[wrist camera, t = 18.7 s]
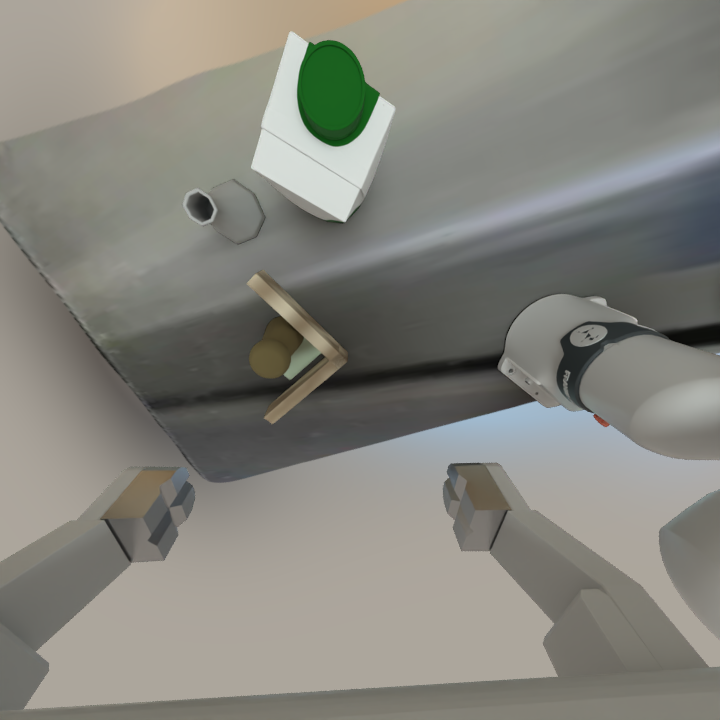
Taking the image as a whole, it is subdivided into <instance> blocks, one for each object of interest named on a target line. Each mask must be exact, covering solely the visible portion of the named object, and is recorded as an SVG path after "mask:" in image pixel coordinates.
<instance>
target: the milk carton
mask: <svg viewBox="0 0 720 720" xmlns="http://www.w3.org/2000/svg"><path fill="white" fill-rule="evenodd" d="M379 95H380V93H379V92H378V91H376V90H375V89H374V88H372V87H371V86H369V85H368V84H367V83H366V82H365V79H364V74H363V70H362V67H361V65H360V63H359V61H358V59H357V57H356V56H355V54H354V53H353V52H352V51H351V50H350V49H349V48H348V47H347V46H345V45H344V44H342V43H340V42H337V41H332V40H327V41H322V42H319V43H317V44H316V45H314V44H313V43H311V42H309V44H308V43H307V42H306V41H304V40H303V39H302V38H301V37H299V36H298V35H296V34H295V33H294V32H292V31H291V32H290V33H289V35H288V39H287V42H286V45H285V49H284V52H283V55H282V59H281V62H280V65H279V68H278V72H277V75H276V78H275V82H274V85H273V88H272V92H271V95H270V99H269V102H268V106H267V107H266V110H265V113H264V116H263V120H262V123H261V129H262V131H261V134H260V138H259V141H258V145H257V148H256V152H255V155H254V159H253V162H252V166H251V168H252V169H253V170H254V171H255V172H257V173H258V174H259V175H260V176H261V177H263V178H264V179H265V180H266V181H267V182H269V183H270V184H271V185H272V186H273V187H274V188H276V189H277V190H278V191H279V192H280V193H281V194H283V195H284V196H285V197H286V198H287V199H288V200H290V201H291V202H293V203H294V204H295V205H297V206H298V207H300V208H301V209H303V210H304V211H306V212H308V213H310V214H312V215H314V216H316V217H318V218H320V219H322V220H325V221H328V222H338V223H345V222H346V221H347V220H348V219H349V218H350V217H351V216H352V215H353V214H354V213H355V211H356V210H357V209H358V208H359V207H360V205H361V203H362V202H363V200H364V199H365V197H366V194H367V192H368V190H369V188H370V185H371V183H372V181H373V178H374V176H375V173H376V170H377V168H378V165H379V163H380V159H381V156H382V154H383V151H384V147H385V144H386V141H387V138H388V134H389V131H390V127H391V124H392V120H393V117H394V113H395V107H394V106H393V105H392V104H390V103H389V102H388V101H386V100H385V99H383V98H382V97H380V96H379Z"/></svg>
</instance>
